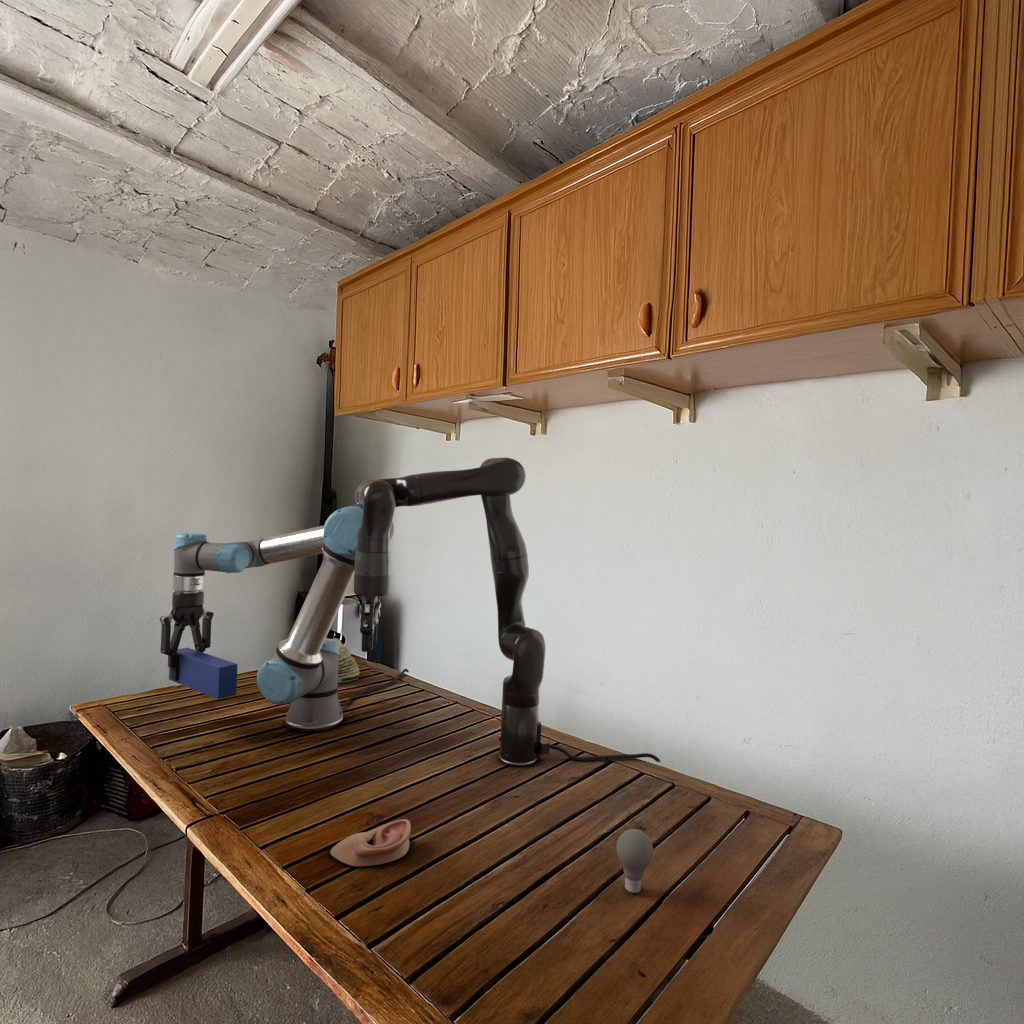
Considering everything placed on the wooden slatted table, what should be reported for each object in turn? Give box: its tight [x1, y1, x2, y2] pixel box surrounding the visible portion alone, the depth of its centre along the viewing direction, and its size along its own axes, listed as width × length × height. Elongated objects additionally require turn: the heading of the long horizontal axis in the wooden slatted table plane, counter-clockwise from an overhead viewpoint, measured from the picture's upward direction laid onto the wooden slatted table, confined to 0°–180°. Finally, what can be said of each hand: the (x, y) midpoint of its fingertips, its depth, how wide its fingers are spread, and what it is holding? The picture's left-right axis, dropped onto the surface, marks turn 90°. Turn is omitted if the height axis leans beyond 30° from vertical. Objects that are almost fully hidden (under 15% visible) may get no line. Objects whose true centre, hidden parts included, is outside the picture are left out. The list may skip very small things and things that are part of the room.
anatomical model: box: [329, 818, 412, 867], centre depth 114 cm, size 13×4×12 cm
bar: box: [168, 647, 238, 700], centre depth 165 cm, size 24×5×8 cm, turn 55°
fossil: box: [325, 637, 361, 683], centre depth 216 cm, size 9×18×15 cm, turn 132°
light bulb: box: [615, 828, 654, 894], centre depth 106 cm, size 6×6×10 cm
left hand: (184, 677), depth 170 cm, fingers closed on bar, 5 cm apart
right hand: (369, 646), depth 137 cm, fingers open, 8 cm apart
